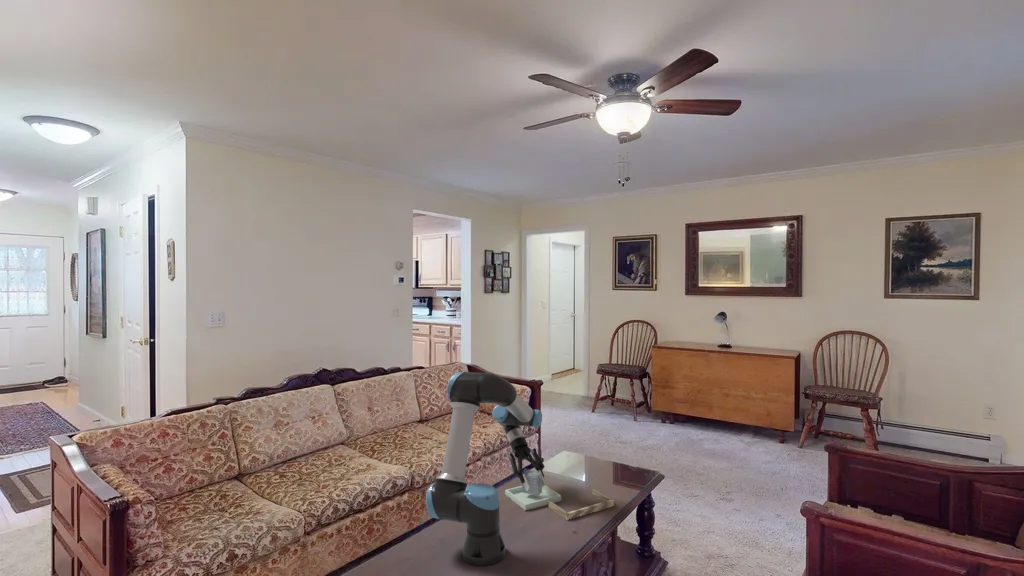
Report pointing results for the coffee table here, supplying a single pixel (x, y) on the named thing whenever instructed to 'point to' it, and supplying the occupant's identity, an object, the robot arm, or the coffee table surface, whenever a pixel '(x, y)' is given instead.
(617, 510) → the coffee table surface
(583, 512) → the frame
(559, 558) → the coffee table surface
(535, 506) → the sage-green tray
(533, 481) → the medicine box
